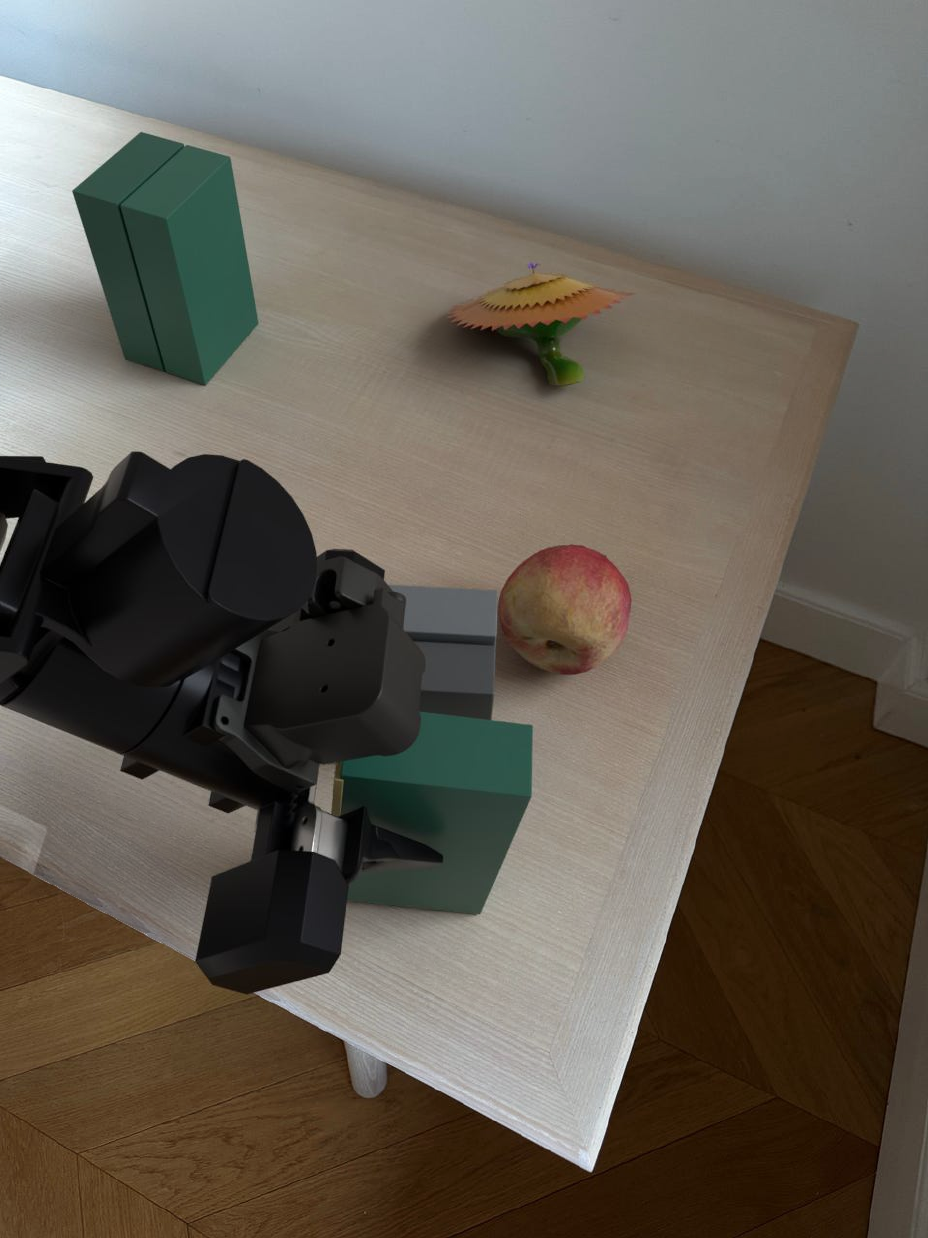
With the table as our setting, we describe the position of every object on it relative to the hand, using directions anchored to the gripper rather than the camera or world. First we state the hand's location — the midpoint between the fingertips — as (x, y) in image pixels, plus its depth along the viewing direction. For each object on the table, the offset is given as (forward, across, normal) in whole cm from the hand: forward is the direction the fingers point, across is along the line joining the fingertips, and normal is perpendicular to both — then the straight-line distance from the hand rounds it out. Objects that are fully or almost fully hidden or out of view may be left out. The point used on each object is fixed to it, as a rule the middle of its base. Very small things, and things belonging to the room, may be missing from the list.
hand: (439, 817), depth 47 cm
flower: (+10, +45, +3) cm, 46 cm away
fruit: (+11, +16, +2) cm, 19 cm away
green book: (+4, 0, +7) cm, 8 cm away
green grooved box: (-10, +42, +21) cm, 49 cm away
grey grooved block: (+5, +10, +7) cm, 13 cm away
